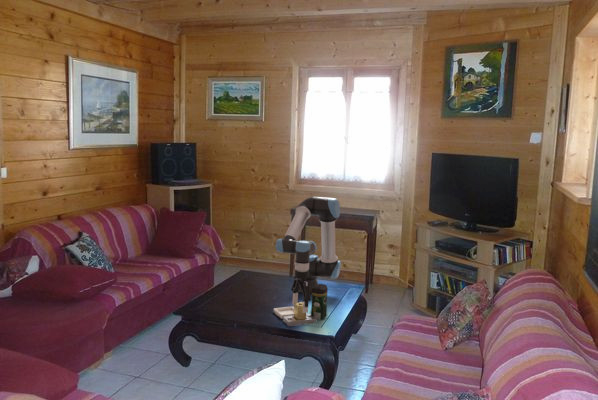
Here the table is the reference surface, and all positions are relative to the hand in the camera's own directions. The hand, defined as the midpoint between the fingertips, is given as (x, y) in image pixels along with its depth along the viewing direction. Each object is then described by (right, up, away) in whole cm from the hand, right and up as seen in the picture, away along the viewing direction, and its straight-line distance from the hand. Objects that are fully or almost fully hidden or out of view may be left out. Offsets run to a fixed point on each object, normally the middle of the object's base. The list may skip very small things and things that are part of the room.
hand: (300, 308), depth 278 cm
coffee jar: (+10, -7, +9) cm, 15 cm away
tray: (-7, -6, +12) cm, 15 cm away
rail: (0, -8, +1) cm, 8 cm away
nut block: (0, -8, +1) cm, 8 cm away
